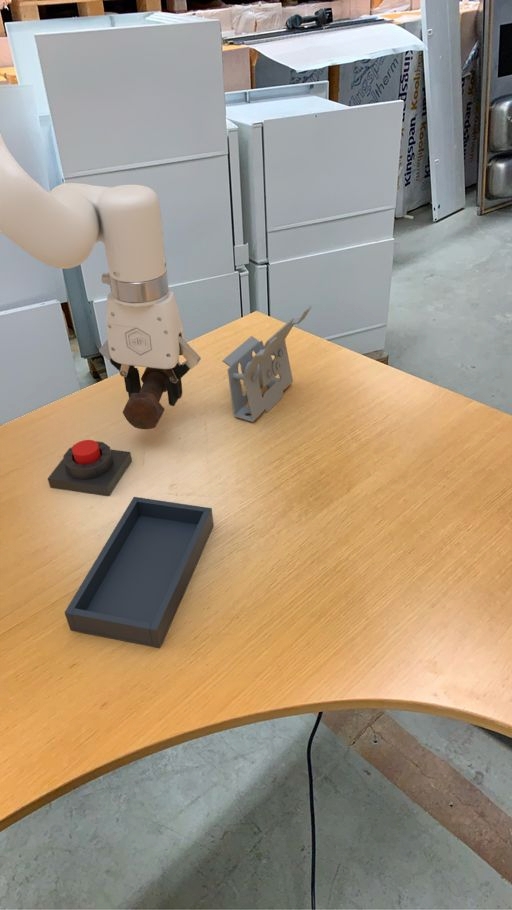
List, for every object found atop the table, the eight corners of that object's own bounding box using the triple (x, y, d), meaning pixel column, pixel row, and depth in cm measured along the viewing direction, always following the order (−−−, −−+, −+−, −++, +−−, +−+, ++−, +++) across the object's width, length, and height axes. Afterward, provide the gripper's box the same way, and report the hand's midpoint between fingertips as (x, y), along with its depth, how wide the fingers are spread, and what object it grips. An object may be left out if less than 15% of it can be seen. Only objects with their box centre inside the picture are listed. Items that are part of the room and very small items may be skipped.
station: (50, 487, 91) (44, 468, 89) (76, 453, 98) (71, 434, 95) (109, 496, 89) (104, 476, 87) (132, 460, 96) (128, 441, 93)
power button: (70, 463, 91) (67, 453, 90) (81, 448, 93) (79, 438, 92) (93, 466, 90) (91, 456, 89) (104, 451, 93) (102, 441, 92)
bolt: (170, 384, 106) (150, 436, 94) (141, 370, 105) (117, 421, 93) (185, 357, 103) (166, 407, 90) (156, 341, 101) (133, 390, 89)
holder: (70, 630, 72) (64, 612, 70) (137, 514, 86) (133, 496, 85) (160, 648, 70) (156, 630, 68) (213, 525, 84) (211, 507, 82)
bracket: (273, 430, 100) (270, 342, 91) (219, 413, 104) (211, 328, 95) (310, 389, 109) (311, 305, 100) (259, 376, 113) (255, 294, 104)
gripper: (68, 290, 87) (92, 404, 98) (191, 302, 83) (201, 419, 94) (93, 269, 92) (113, 379, 103) (209, 279, 89) (216, 392, 100)
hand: (155, 397), depth 99 cm, fingers closed on bolt, 5 cm apart
